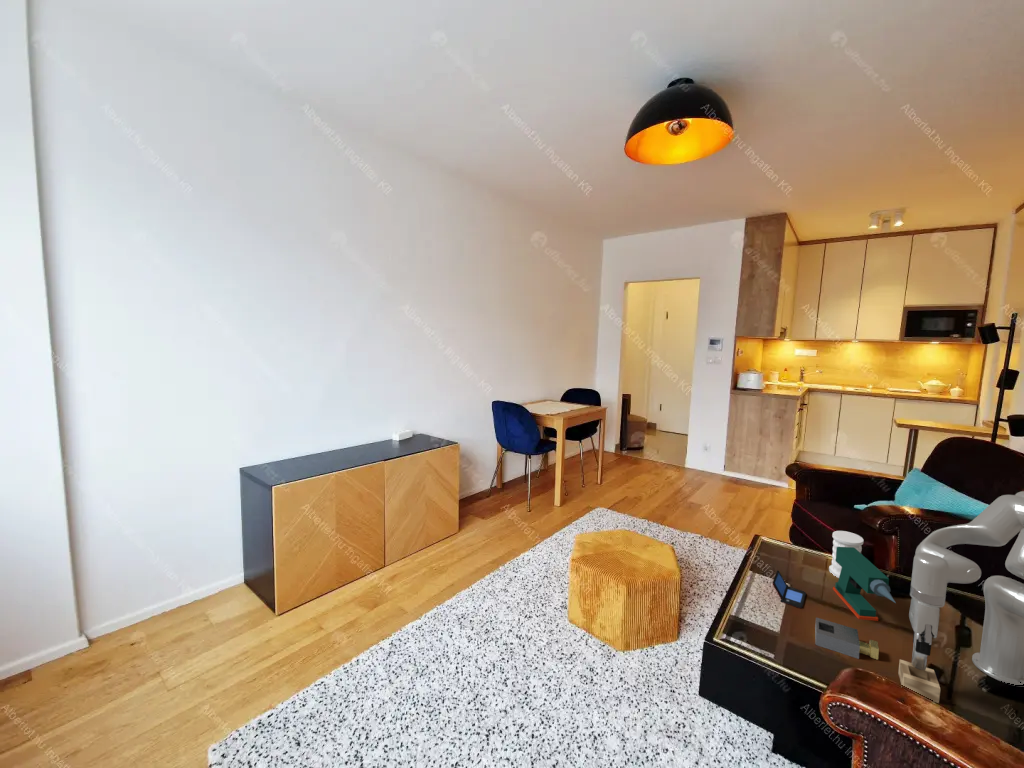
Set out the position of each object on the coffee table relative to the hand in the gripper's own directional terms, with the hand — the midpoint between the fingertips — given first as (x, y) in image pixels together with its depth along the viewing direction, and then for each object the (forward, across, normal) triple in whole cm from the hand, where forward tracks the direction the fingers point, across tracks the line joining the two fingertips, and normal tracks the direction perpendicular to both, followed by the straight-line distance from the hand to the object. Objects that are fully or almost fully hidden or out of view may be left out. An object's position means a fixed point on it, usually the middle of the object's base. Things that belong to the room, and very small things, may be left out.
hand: (921, 648), depth 129 cm
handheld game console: (+14, -31, -35) cm, 49 cm away
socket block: (+14, -9, -20) cm, 26 cm away
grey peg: (+6, 0, 0) cm, 6 cm away
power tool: (+14, -32, -10) cm, 36 cm away
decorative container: (+14, -61, -14) cm, 64 cm away
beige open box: (+14, 0, 0) cm, 14 cm away
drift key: (+13, -9, -15) cm, 22 cm away
